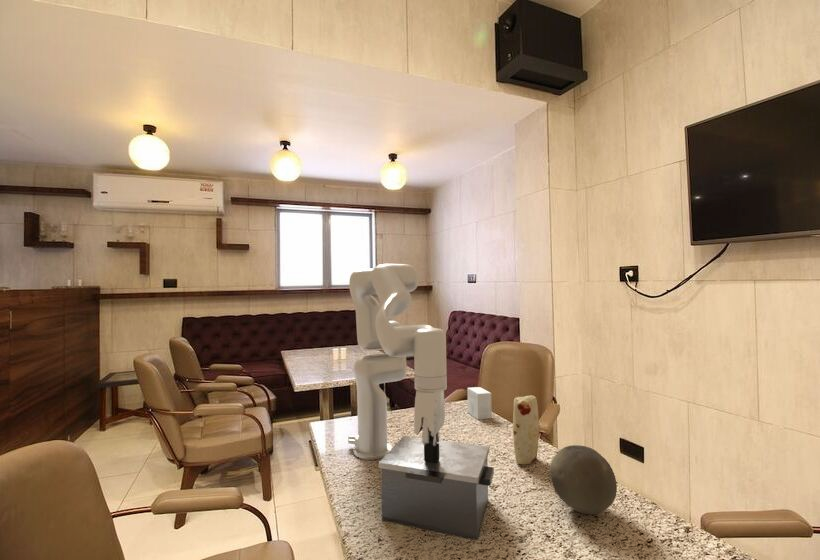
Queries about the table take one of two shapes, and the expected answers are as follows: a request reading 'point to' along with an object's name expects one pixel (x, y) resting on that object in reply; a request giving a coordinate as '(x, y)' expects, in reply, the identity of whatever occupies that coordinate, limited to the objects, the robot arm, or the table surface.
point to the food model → (525, 429)
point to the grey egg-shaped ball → (583, 479)
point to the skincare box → (479, 403)
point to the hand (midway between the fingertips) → (431, 460)
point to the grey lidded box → (436, 503)
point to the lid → (452, 463)
